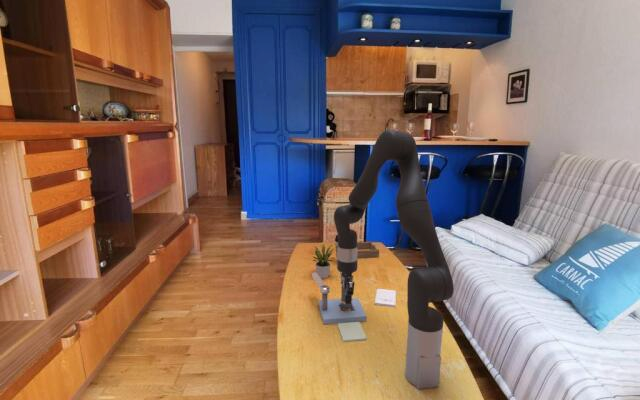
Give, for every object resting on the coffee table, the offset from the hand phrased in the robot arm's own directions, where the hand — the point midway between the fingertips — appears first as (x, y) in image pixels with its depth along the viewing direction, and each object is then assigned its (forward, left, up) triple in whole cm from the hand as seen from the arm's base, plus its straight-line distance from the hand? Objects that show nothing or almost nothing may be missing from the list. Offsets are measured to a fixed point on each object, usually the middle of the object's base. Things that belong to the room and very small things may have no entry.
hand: (346, 299), depth 133 cm
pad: (-13, +1, -5) cm, 14 cm away
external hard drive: (+9, -18, -6) cm, 21 cm away
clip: (+6, +9, +4) cm, 12 cm away
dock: (0, +2, -5) cm, 6 cm away
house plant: (+33, +3, -6) cm, 34 cm away
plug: (0, 0, -3) cm, 3 cm away
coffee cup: (+47, -8, -6) cm, 48 cm away
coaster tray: (+59, -22, -5) cm, 64 cm away
